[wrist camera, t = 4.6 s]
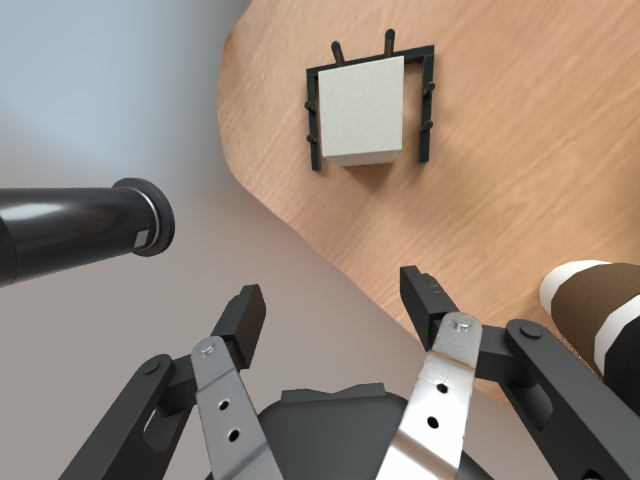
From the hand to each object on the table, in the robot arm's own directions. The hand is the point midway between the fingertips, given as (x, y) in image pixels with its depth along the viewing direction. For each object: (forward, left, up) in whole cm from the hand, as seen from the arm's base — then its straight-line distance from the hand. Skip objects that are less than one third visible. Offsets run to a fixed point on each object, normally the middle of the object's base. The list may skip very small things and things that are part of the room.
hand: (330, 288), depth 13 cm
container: (+1, +10, -14) cm, 18 cm away
